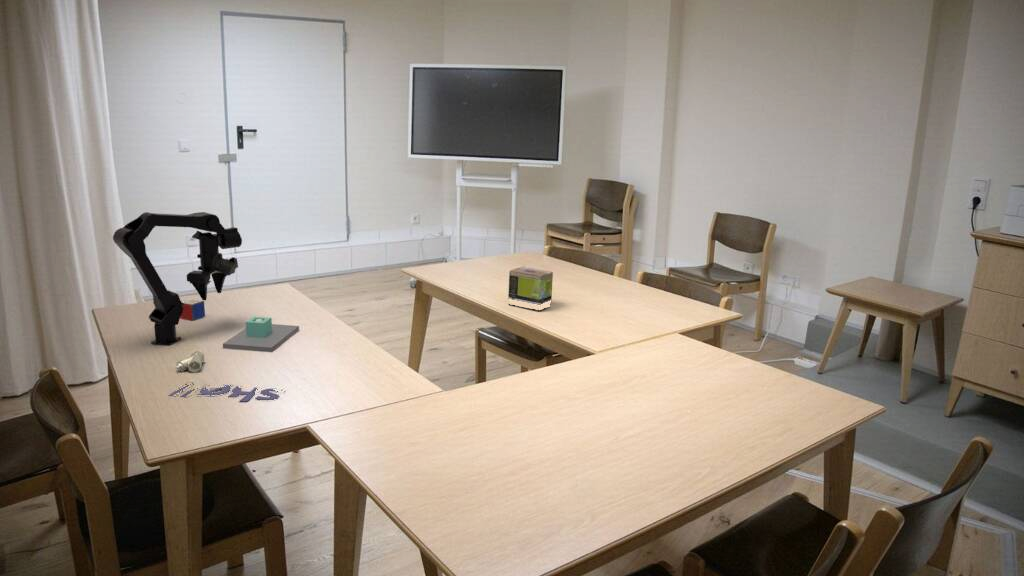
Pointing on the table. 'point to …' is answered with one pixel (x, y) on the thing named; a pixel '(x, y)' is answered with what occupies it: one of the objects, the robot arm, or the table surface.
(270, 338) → the peg board
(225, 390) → the signage
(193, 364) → the pipe fitting
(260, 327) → the bead
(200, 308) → the puzzle
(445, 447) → the table surface
